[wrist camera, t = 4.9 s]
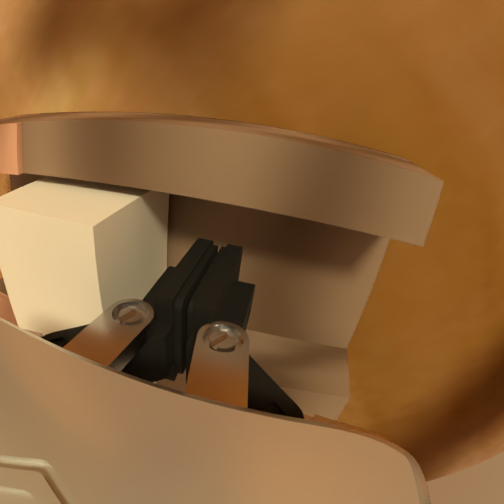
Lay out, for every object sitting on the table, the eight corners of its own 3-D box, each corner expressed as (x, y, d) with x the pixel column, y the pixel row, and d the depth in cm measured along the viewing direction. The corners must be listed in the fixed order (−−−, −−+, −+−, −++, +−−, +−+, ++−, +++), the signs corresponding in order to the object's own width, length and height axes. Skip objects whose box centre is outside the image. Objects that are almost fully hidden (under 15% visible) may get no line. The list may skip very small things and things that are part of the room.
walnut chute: (404, 158, 11) (448, 184, 7) (333, 362, 16) (334, 428, 12) (21, 115, 12) (-39, 128, 9) (38, 281, 17) (-3, 317, 13)
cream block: (170, 179, 12) (93, 226, 7) (166, 305, 14) (117, 382, 10) (72, 166, 12) (-13, 202, 8) (82, 280, 15) (22, 337, 10)
